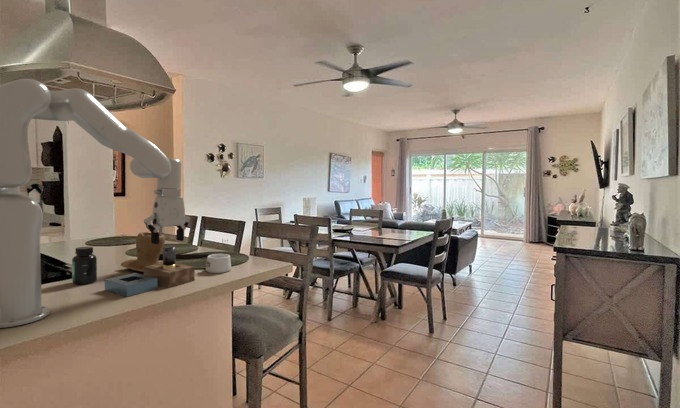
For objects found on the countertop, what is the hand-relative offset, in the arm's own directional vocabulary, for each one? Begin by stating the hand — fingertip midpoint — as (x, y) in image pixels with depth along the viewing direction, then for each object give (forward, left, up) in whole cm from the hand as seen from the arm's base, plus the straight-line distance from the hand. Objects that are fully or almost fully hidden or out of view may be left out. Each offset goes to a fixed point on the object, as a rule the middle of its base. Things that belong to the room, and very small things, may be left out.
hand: (167, 242), depth 124 cm
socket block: (-12, +1, -14) cm, 19 cm away
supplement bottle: (-16, +21, -14) cm, 30 cm away
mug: (+21, -2, -14) cm, 25 cm away
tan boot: (+5, +20, -14) cm, 25 cm away
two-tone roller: (0, 0, -14) cm, 14 cm away
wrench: (+22, +23, -15) cm, 35 cm away
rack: (+1, 0, -14) cm, 14 cm away
